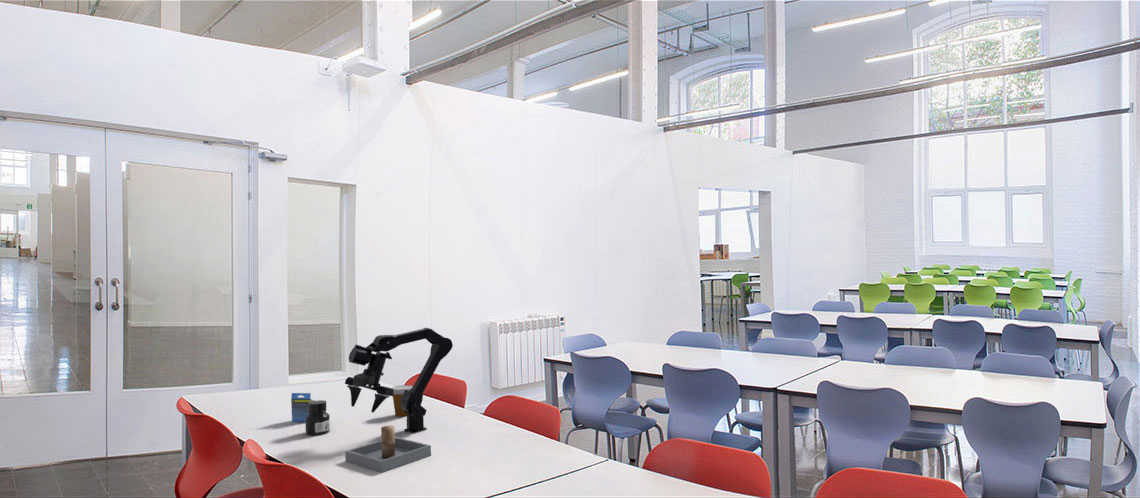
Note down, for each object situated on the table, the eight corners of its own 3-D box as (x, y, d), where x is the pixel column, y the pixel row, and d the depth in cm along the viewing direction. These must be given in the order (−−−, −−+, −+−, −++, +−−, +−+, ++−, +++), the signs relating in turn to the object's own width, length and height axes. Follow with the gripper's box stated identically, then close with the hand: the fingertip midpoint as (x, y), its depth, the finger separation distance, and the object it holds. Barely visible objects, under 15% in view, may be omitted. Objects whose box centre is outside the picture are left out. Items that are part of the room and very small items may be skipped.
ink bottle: (320, 436, 248) (320, 405, 248) (300, 435, 250) (299, 404, 250) (334, 429, 257) (334, 399, 257) (315, 428, 259) (314, 399, 259)
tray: (431, 455, 221) (430, 445, 221) (382, 472, 205) (382, 461, 205) (394, 446, 233) (393, 436, 233) (345, 461, 217) (345, 451, 217)
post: (395, 454, 221) (394, 425, 221) (394, 458, 217) (394, 428, 217) (382, 455, 220) (381, 426, 221) (381, 459, 216) (380, 429, 216)
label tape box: (316, 419, 274) (315, 390, 274) (311, 422, 270) (310, 393, 270) (296, 419, 275) (295, 391, 275) (291, 422, 271) (290, 393, 271)
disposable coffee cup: (411, 417, 273) (410, 389, 273) (388, 418, 273) (388, 389, 273) (416, 412, 283) (416, 384, 283) (395, 412, 283) (394, 385, 283)
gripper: (342, 360, 240) (328, 402, 236) (383, 371, 233) (369, 414, 230) (360, 363, 250) (347, 403, 246) (399, 374, 243) (387, 416, 240)
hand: (362, 409), depth 240 cm, fingers open, 9 cm apart
